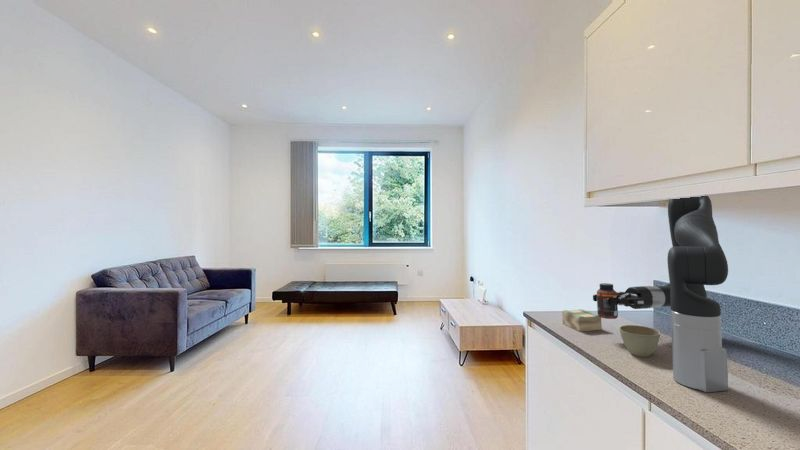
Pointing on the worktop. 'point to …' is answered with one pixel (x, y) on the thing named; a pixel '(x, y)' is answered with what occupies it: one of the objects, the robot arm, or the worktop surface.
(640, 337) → the beige round bowl
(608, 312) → the supplement bottle
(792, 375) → the worktop surface
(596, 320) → the step
